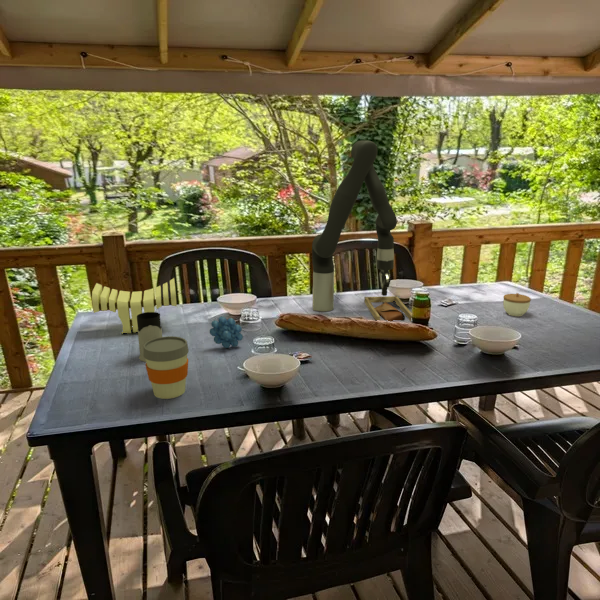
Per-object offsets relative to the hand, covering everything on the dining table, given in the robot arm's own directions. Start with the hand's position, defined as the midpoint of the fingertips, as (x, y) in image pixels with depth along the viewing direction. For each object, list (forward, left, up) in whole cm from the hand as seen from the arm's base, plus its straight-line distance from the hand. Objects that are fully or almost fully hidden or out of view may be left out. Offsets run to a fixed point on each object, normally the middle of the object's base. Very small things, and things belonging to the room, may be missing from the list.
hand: (384, 295), depth 225 cm
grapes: (-67, -49, -5) cm, 84 cm away
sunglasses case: (-2, -15, -5) cm, 16 cm away
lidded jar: (+54, -17, -5) cm, 56 cm away
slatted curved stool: (-104, -25, -5) cm, 108 cm away
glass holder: (-93, -52, -5) cm, 107 cm away
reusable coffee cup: (-81, -81, -5) cm, 115 cm away
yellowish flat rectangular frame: (0, -10, -5) cm, 11 cm away
